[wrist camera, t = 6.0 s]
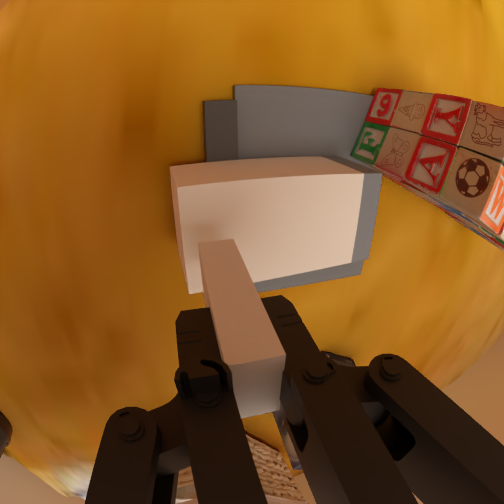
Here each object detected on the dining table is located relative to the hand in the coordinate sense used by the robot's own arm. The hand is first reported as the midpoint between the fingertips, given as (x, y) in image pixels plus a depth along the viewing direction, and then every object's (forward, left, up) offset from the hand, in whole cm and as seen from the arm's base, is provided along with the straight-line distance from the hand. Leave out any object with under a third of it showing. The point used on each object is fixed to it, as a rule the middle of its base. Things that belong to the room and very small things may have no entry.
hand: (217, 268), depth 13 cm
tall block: (-2, 0, -5) cm, 5 cm away
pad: (+7, 0, -9) cm, 12 cm away
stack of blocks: (+22, +2, -9) cm, 24 cm away
